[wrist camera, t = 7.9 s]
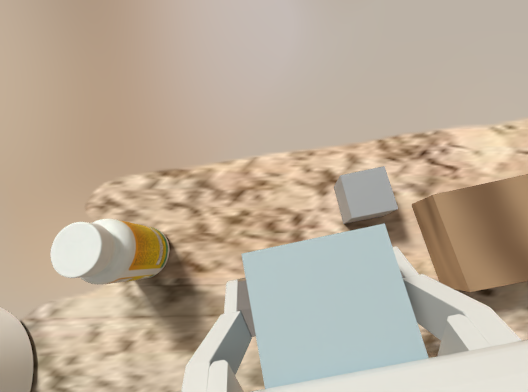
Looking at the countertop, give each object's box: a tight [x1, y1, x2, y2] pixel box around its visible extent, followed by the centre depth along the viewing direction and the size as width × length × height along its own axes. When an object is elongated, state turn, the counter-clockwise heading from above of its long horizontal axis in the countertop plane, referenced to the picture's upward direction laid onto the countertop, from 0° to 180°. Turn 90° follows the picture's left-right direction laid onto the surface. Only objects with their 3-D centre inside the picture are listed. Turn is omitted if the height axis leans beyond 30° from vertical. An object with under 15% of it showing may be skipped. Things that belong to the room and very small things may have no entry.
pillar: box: [242, 223, 428, 389], centre depth 12 cm, size 4×4×9 cm
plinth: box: [412, 174, 528, 292], centre depth 23 cm, size 8×8×4 cm
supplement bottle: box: [51, 219, 170, 284], centre depth 23 cm, size 5×5×10 cm
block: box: [334, 167, 398, 224], centre depth 25 cm, size 4×4×4 cm
